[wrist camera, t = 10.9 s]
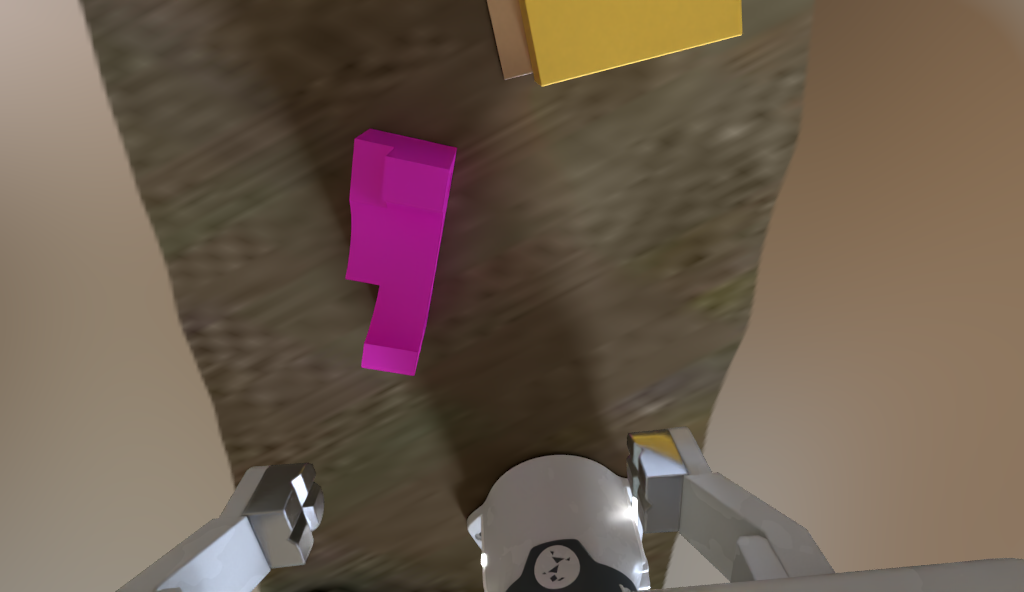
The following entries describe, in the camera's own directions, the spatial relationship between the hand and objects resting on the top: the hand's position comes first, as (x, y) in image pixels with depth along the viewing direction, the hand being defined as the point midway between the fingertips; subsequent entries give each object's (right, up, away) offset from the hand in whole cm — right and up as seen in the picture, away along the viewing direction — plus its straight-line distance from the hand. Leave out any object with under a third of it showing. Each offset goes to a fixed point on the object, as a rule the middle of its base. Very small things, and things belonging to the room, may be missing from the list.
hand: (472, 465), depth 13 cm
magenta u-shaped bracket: (-8, +9, +27) cm, 29 cm away
